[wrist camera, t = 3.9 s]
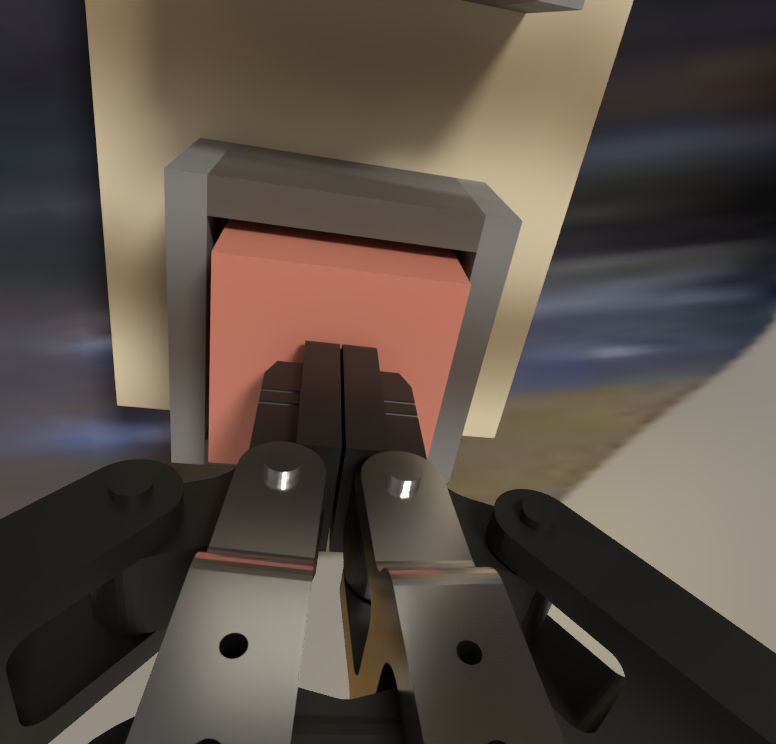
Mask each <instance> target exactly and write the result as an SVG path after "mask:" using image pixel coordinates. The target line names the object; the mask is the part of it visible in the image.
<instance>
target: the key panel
mask: <svg viewBox="0 0 776 744" xmlns="http://www.w3.org/2000/svg"><path fill="white" fill-rule="evenodd" d="M632 3H633V0H85V6H86V18H87V31H88V44H89V56H90V69H91V81H92V94H93V107H94V119H95V132H96V144H97V157H98V170H99V182H100V195H101V207H102V220H103V233H104V245H105V258H106V270H107V283H108V296H109V308H110V321H111V333H112V346H113V359H114V371H115V384H116V396H117V405H118V406H129V407H141V408H152V409H164V410H170V428H171V462H172V463H185V464H199V465H213V466H226V467H236V466H237V464H225V463H212V462H208V449H209V382H210V314H211V252H212V250H213V248H214V246H215V244H216V242H217V241H218V239H219V237H220V235H221V233H222V231H223V229H224V227H225V226H226V224H227V222H228V220H229V219H236V220H243V221H250V222H258V223H265V224H272V225H280V226H287V227H294V228H301V229H309V230H316V231H323V232H331V233H338V234H345V235H352V236H360V237H367V238H374V239H382V240H389V241H396V242H404V243H411V244H418V245H425V246H433V247H440V248H447V249H452V250H453V252H454V254H455V255H456V257H457V259H458V261H459V263H460V265H461V267H462V269H463V270H464V272H465V274H466V276H467V278H468V280H469V282H470V284H471V288H470V292H469V296H468V300H467V304H466V308H465V312H464V316H463V320H462V324H461V328H460V332H459V336H458V340H457V344H456V348H455V352H454V356H453V360H452V364H451V368H450V372H449V376H448V380H447V384H446V387H445V391H444V395H443V399H442V403H441V407H440V411H439V415H438V419H437V423H436V427H435V431H434V435H433V439H432V443H431V447H430V451H429V455H428V459H427V460H428V461H429V462H431V463H432V464H433V465H435V466H436V467H437V468H438V469H439V471H440V472H441V474H442V476H443V478H444V480H445V483H449V480H450V476H451V473H452V469H453V466H454V462H455V458H456V455H457V451H458V448H459V444H460V441H461V437H462V435H464V436H475V437H487V438H494V437H495V434H496V431H497V428H498V425H499V422H500V419H501V415H502V412H503V409H504V406H505V403H506V400H507V396H508V393H509V390H510V387H511V384H512V381H513V378H514V374H515V371H516V368H517V365H518V362H519V359H520V356H521V352H522V349H523V346H524V343H525V340H526V337H527V334H528V330H529V327H530V324H531V321H532V318H533V315H534V312H535V308H536V305H537V302H538V299H539V296H540V293H541V289H542V286H543V283H544V280H545V277H546V274H547V271H548V267H549V264H550V261H551V258H552V255H553V252H554V249H555V245H556V242H557V239H558V236H559V233H560V230H561V227H562V223H563V220H564V217H565V214H566V211H567V208H568V205H569V201H570V198H571V195H572V192H573V189H574V186H575V182H576V179H577V176H578V173H579V170H580V167H581V164H582V160H583V157H584V154H585V151H586V148H587V145H588V142H589V138H590V135H591V132H592V129H593V126H594V123H595V120H596V116H597V113H598V110H599V107H600V104H601V101H602V98H603V94H604V91H605V88H606V85H607V82H608V79H609V75H610V72H611V69H612V66H613V63H614V60H615V57H616V53H617V50H618V47H619V44H620V41H621V38H622V35H623V31H624V28H625V25H626V22H627V19H628V16H629V13H630V9H631V6H632Z"/></svg>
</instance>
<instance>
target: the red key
mask: <svg viewBox="0 0 776 744" xmlns="http://www.w3.org/2000/svg"><path fill="white" fill-rule="evenodd" d="M470 288H471V284H470V282H469V280H468V278H467V276H466V274H465V272H464V270H463V269H462V267H461V265H460V263H459V261H458V259H457V257H456V255H455V254H454V252H453V250H452V249H447V248H440V247H433V246H425V245H418V244H411V243H404V242H396V241H389V240H382V239H374V238H367V237H360V236H352V235H345V234H338V233H331V232H323V231H316V230H309V229H301V228H294V227H287V226H280V225H272V224H265V223H258V222H250V221H243V220H236V219H229V220H228V222H227V224H226V226H225V227H224V229H223V231H222V233H221V235H220V237H219V239H218V241H217V242H216V244H215V246H214V248H213V250H212V252H211V314H210V382H209V449H208V462H212V463H225V464H237V463H238V461H239V459H240V457H241V456H242V455H243V454H244V453H245V452H246V451H248V450H249V446H250V441H251V436H252V431H253V426H254V421H255V417H256V412H257V407H258V403H259V397H260V392H261V387H262V382H263V377H264V373H265V372H266V371H267V370H268V369H269V368H270V367H271V366H272V365H273V364H274V363H275V362H277V361H285V362H294V363H303V358H304V348H305V340H308V341H317V342H326V343H336V344H340V353H341V347H342V344H346V345H355V346H364V347H374V348H377V352H378V360H379V367H380V371H384V372H393V373H399V374H400V375H401V376H402V377H403V378H404V379H405V380H406V381H407V383H408V384H409V385H410V386H411V387H412V391H413V396H414V401H415V405H416V410H417V418H418V419H419V424H420V429H421V433H422V438H423V442H424V447H425V452H426V456H427V459H428V455H429V451H430V447H431V443H432V439H433V435H434V431H435V427H436V423H437V419H438V415H439V411H440V407H441V403H442V399H443V395H444V391H445V387H446V384H447V380H448V376H449V372H450V368H451V364H452V360H453V356H454V352H455V348H456V344H457V340H458V336H459V332H460V328H461V324H462V320H463V316H464V312H465V308H466V304H467V300H468V296H469V292H470Z"/></svg>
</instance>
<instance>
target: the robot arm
mask: <svg viewBox="0 0 776 744" xmlns="http://www.w3.org/2000/svg"><path fill="white" fill-rule="evenodd" d="M329 527H330V545H329V552H343V559H344V568H343V573H342V579H341V584H340V599H341V609H342V619H343V628H344V638H345V649H346V659H347V668H348V678H349V691H350V699H348V700H346V699H338V698H334V697H330V696H327V695H323V694H319V693H316V692H313V691H309V690H305V689H302V688H298V683H299V675H300V668H301V660H302V653H303V645H304V637H305V630H306V623H307V615H308V607H309V600H310V592H311V585H312V580H313V578H314V576H315V573H316V566H317V560H318V553H319V551H325V552H326V546H327V540H328V533H329ZM551 604H553V605H555V606H556V607H557V608H559V609H560V610H561V611H562V612H563V613H564V614H565V615H567V616H568V617H569V618H570V619H571V620H573V621H574V622H575V623H576V624H577V625H579V626H580V627H581V628H582V629H583V630H585V631H586V632H587V633H588V634H590V635H591V636H592V637H593V638H594V639H595V640H597V641H598V642H599V643H600V644H601V645H603V646H604V647H605V648H606V649H607V650H609V651H610V652H611V653H612V654H613V655H614V656H615V657H616V659H617V660H618V661H619V663H620V664H621V666H622V668H623V671H624V674H625V677H623V676H621V675H618V674H617V673H615V672H614V671H613V670H611V669H610V668H609V667H608V666H607V665H606V664H605V663H603V662H602V661H601V660H600V659H599V658H598V657H596V656H595V655H594V654H593V653H592V652H590V651H589V650H588V649H587V648H586V647H585V646H583V645H582V644H581V643H580V642H579V641H577V640H576V639H575V638H574V637H573V636H572V635H570V634H569V633H568V632H567V631H566V630H565V629H563V628H562V627H561V626H560V625H559V624H558V623H556V622H555V621H554V620H553V619H552V618H551V617H549V616H548V615H547V613H548V611H549V609H550V607H551ZM158 651H159V653H158V655H157V658H156V661H155V663H154V666H153V669H152V672H151V674H150V677H149V680H148V682H147V685H146V688H145V691H144V694H143V696H142V699H141V702H140V704H139V707H138V710H137V713H136V716H135V717H133V718H131V719H129V720H126V721H124V722H122V723H120V724H118V725H116V726H114V727H113V728H111V729H110V730H108V731H106V732H105V733H103V734H101V735H100V736H98V737H97V738H95V739H93V740H92V741H91V742H89V743H88V744H776V653H774V652H773V651H771V650H770V649H769V648H767V647H766V646H764V645H763V644H762V643H760V642H759V641H757V640H756V639H754V638H753V637H752V636H750V635H749V634H747V633H746V632H745V631H743V630H742V629H740V628H739V627H737V626H736V625H735V624H733V623H732V622H730V621H729V620H727V619H726V618H725V617H723V616H722V615H720V614H719V613H717V612H716V611H715V610H713V609H712V608H710V607H709V606H708V605H706V604H705V603H703V602H702V601H700V600H699V599H698V598H696V597H695V596H693V595H692V594H691V593H689V592H688V591H686V590H685V589H683V588H682V587H680V586H679V585H678V584H676V583H675V582H673V581H672V580H671V579H669V578H668V577H666V576H665V575H663V574H662V573H661V572H659V571H658V570H656V569H655V568H654V567H652V566H651V565H649V564H648V563H646V562H645V561H644V560H642V559H641V558H639V557H638V556H637V555H635V554H634V553H632V552H631V551H629V550H628V549H627V548H625V547H624V546H622V545H621V544H619V543H618V542H617V541H615V540H614V539H612V538H611V537H610V536H608V535H607V534H605V533H604V532H602V531H601V530H600V529H598V528H597V527H595V526H594V525H592V524H591V523H590V522H588V521H587V520H585V519H584V518H583V517H581V516H580V515H578V514H577V513H575V512H574V511H572V510H571V509H570V508H568V507H567V506H565V505H564V504H563V503H561V502H560V501H558V500H556V499H555V498H553V497H551V496H549V495H547V494H544V493H541V492H538V491H534V490H528V489H515V490H510V491H507V492H505V493H503V494H502V495H500V496H499V497H498V499H497V500H496V502H495V505H494V506H492V505H488V504H485V503H482V502H479V501H475V500H472V499H469V498H466V497H463V496H461V495H459V494H457V493H455V492H453V491H451V490H449V489H448V488H447V486H446V483H445V480H444V478H443V476H442V474H441V472H440V471H439V469H438V468H437V467H436V466H435V465H433V464H432V463H431V462H429V461H428V460H427V456H426V452H425V447H424V442H423V438H422V433H421V429H420V424H419V419H418V418H417V410H416V405H415V401H414V396H413V391H412V387H411V386H410V385H409V384H408V383H407V381H406V380H405V379H404V378H403V377H402V376H401V375H400V374H399V373H393V372H384V371H380V367H379V360H378V352H377V348H374V347H364V346H355V345H346V344H342V347H341V353H340V344H336V343H326V342H317V341H308V340H305V348H304V358H303V363H294V362H285V361H277V362H275V363H274V364H273V365H272V366H271V367H270V368H269V369H268V370H267V371H266V372H265V373H264V377H263V382H262V387H261V392H260V397H259V403H258V407H257V412H256V417H255V421H254V426H253V431H252V436H251V441H250V446H249V450H248V451H246V452H245V453H244V454H243V455H242V456H241V457H240V459H239V461H238V463H237V466H236V468H235V469H233V470H232V471H230V472H228V473H226V474H224V475H221V476H218V477H215V478H212V479H207V480H201V481H195V482H188V483H183V481H182V479H181V477H180V475H179V474H178V473H177V472H176V471H175V470H174V469H173V468H171V467H169V466H168V465H166V464H163V463H160V462H156V461H152V460H126V461H121V462H117V463H114V464H110V465H108V466H105V467H103V468H101V469H99V470H97V471H95V472H93V473H91V474H89V475H87V476H85V477H83V478H81V479H79V480H77V481H75V482H73V483H71V484H69V485H67V486H65V487H63V488H61V489H59V490H57V491H55V492H53V493H51V494H49V495H47V496H45V497H43V498H41V499H39V500H37V501H35V502H33V503H31V504H30V505H28V506H26V507H24V508H22V509H20V510H18V511H16V512H14V513H12V514H10V515H8V516H6V517H4V518H2V519H0V744H48V743H49V742H51V741H52V740H53V739H54V738H55V737H56V736H58V735H59V734H60V733H61V732H63V731H64V730H65V729H66V728H67V727H69V726H70V725H71V724H72V723H73V722H74V721H76V720H77V719H78V718H79V717H80V716H82V715H83V714H84V713H85V712H86V711H88V710H89V709H90V708H91V707H92V706H94V705H95V704H96V703H97V702H98V701H100V700H101V699H102V698H103V697H104V696H106V695H107V694H108V693H109V692H110V691H112V690H113V689H114V688H115V687H116V686H118V685H119V684H120V683H121V682H122V681H124V680H125V679H126V678H127V677H128V676H130V675H131V674H132V673H133V672H134V671H136V670H137V669H138V668H139V667H140V666H142V665H143V664H144V663H145V662H146V661H148V660H149V659H150V658H151V657H152V656H154V655H155V654H156V653H157V652H158Z"/></svg>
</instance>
